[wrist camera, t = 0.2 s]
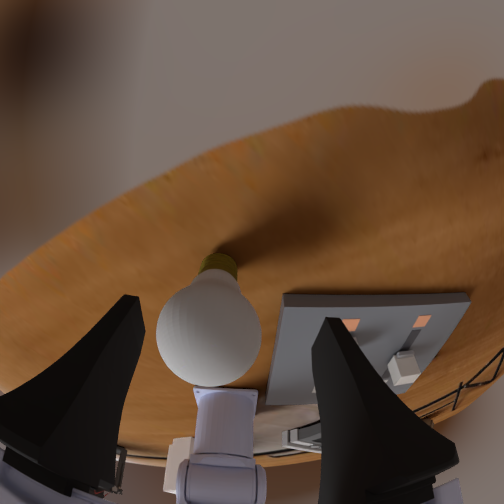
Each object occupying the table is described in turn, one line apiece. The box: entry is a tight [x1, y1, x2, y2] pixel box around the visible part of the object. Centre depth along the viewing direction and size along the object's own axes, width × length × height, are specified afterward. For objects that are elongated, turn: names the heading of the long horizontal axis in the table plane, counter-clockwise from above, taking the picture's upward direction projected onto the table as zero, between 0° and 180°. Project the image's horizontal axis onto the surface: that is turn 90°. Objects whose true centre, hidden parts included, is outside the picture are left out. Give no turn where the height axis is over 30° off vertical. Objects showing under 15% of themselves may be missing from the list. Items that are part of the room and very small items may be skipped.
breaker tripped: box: [388, 350, 421, 386], centre depth 25 cm, size 3×3×3 cm
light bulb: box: [156, 253, 261, 387], centre depth 17 cm, size 6×6×10 cm
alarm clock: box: [282, 423, 321, 453], centre depth 41 cm, size 17×5×16 cm
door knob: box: [422, 418, 434, 428], centre depth 43 cm, size 5×5×5 cm
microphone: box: [89, 446, 127, 499], centre depth 46 cm, size 14×13×30 cm
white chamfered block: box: [163, 437, 195, 494], centre depth 44 cm, size 11×11×12 cm
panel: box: [265, 292, 471, 405], centre depth 28 cm, size 18×20×2 cm
